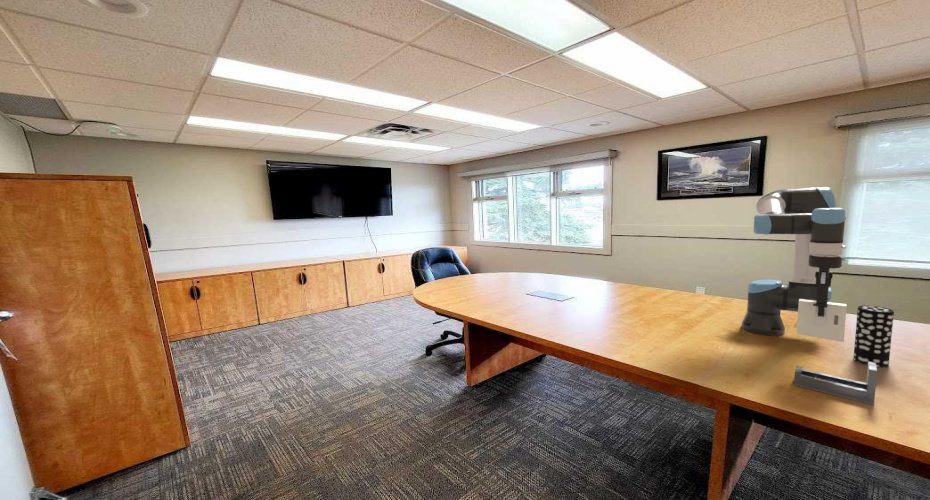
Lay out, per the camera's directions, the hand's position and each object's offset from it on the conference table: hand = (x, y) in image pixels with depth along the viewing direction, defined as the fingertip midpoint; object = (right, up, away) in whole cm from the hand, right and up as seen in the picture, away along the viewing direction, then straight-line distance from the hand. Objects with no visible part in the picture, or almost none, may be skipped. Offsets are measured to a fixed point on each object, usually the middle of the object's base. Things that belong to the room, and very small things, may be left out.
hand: (820, 323), depth 115 cm
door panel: (0, -5, +1) cm, 5 cm away
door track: (-3, -20, -7) cm, 21 cm away
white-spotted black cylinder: (+28, -16, +9) cm, 34 cm away
